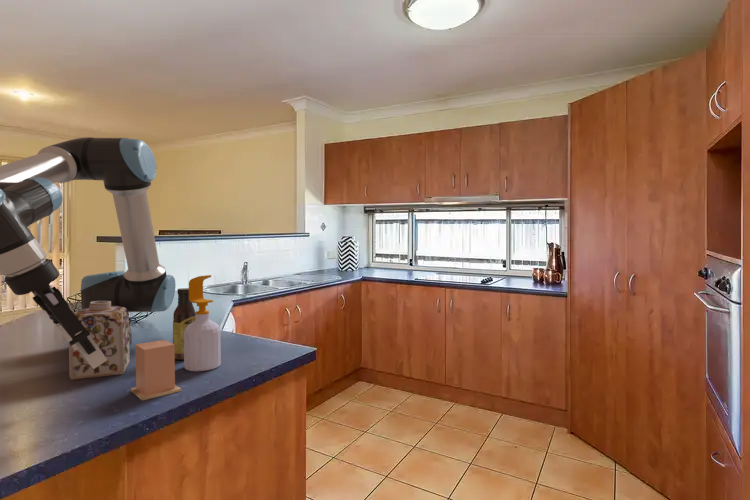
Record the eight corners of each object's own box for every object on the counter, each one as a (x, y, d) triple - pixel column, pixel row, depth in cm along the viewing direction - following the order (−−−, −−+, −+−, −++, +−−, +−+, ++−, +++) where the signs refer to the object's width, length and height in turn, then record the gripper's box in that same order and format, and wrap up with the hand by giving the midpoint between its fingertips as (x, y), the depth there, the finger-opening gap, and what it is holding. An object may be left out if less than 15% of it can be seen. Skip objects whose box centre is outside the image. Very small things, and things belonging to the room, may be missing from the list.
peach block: (136, 388, 95) (135, 344, 95) (164, 381, 100) (164, 339, 99) (145, 395, 91) (144, 349, 91) (175, 388, 95) (174, 344, 95)
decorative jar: (80, 366, 113) (79, 299, 112) (130, 361, 117) (129, 297, 117) (68, 381, 102) (66, 306, 101) (124, 375, 106) (122, 303, 106)
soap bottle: (198, 374, 107) (197, 277, 106) (177, 368, 112) (176, 275, 111) (228, 365, 114) (227, 274, 114) (206, 359, 119) (205, 273, 118)
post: (130, 390, 95) (130, 358, 95) (167, 382, 101) (167, 352, 101) (142, 400, 90) (141, 366, 89) (181, 391, 95) (180, 359, 95)
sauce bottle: (187, 361, 118) (186, 290, 117) (167, 359, 119) (166, 289, 118) (201, 354, 124) (201, 287, 123) (182, 353, 125) (182, 286, 125)
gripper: (-7, 268, 84) (56, 350, 93) (13, 289, 67) (88, 386, 76) (35, 250, 88) (91, 329, 97) (64, 265, 72) (128, 359, 81)
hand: (90, 354), depth 87 cm, fingers open, 13 cm apart
